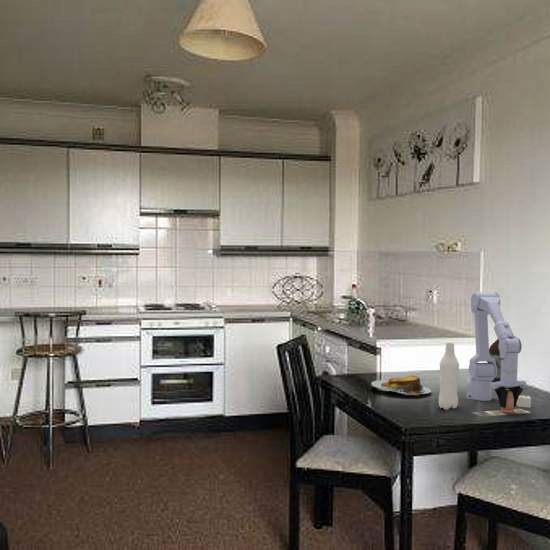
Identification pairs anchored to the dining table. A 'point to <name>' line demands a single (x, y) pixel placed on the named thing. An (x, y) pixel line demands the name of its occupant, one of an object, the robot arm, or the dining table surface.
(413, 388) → the food on plate
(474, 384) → the robot arm
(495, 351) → the olive oil
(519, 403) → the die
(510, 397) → the pawn
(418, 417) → the dining table surface
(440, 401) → the water bottle
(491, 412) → the board
